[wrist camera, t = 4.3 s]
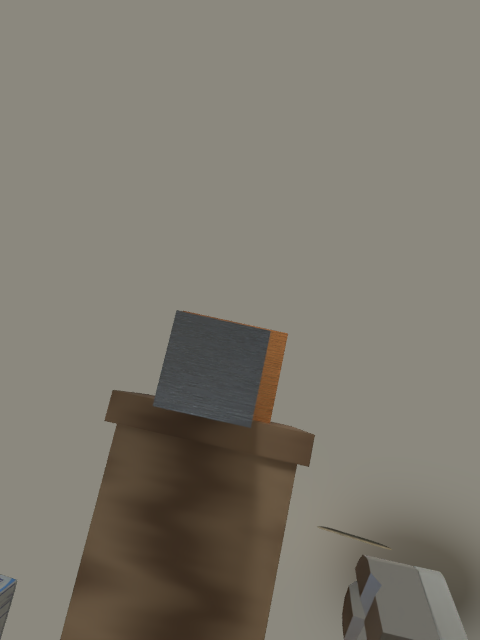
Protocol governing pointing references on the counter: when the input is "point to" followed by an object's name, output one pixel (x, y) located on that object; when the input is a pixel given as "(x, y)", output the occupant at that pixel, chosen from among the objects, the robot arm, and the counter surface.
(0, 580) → the medicine box
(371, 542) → the counter surface
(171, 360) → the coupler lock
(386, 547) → the counter surface
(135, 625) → the stand
